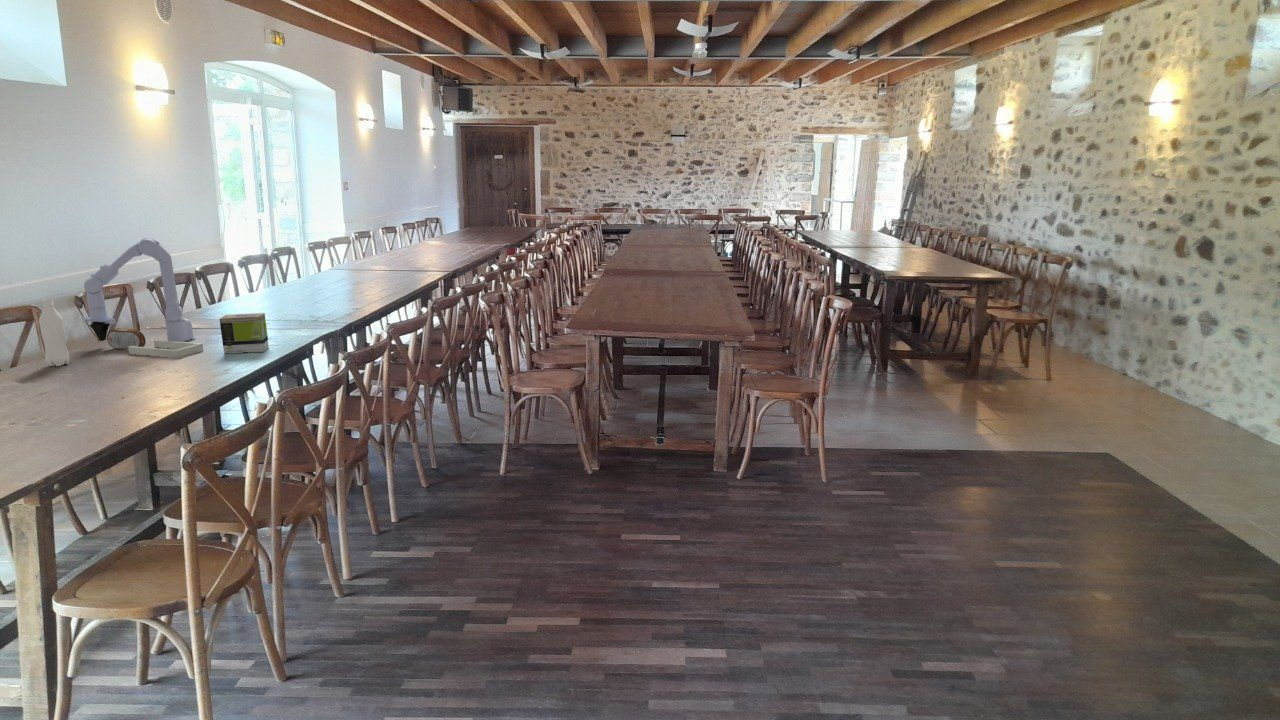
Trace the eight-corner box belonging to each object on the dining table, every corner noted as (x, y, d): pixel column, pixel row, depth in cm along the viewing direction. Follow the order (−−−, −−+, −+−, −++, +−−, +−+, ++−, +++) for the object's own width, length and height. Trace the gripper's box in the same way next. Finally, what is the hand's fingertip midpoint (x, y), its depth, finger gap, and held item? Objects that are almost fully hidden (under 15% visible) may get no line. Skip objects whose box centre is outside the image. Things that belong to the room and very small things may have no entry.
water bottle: (74, 364, 284) (63, 298, 278) (52, 368, 278) (40, 301, 272) (65, 362, 288) (53, 296, 282) (43, 365, 282) (31, 299, 276)
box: (156, 346, 313) (155, 339, 313) (203, 350, 308) (202, 343, 307) (129, 354, 301) (128, 346, 300) (177, 358, 296) (176, 350, 295)
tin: (147, 349, 310) (144, 328, 308) (141, 350, 307) (138, 330, 305) (113, 347, 311) (109, 327, 309) (107, 349, 308) (103, 329, 306)
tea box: (269, 347, 316) (265, 312, 312) (264, 352, 307) (260, 316, 303) (229, 348, 312) (225, 313, 309) (223, 354, 303) (218, 318, 299)
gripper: (73, 308, 306) (79, 341, 309) (102, 310, 302) (107, 343, 306) (89, 305, 312) (95, 337, 316) (118, 307, 309) (123, 339, 312)
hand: (102, 340), depth 311 cm, fingers closed
